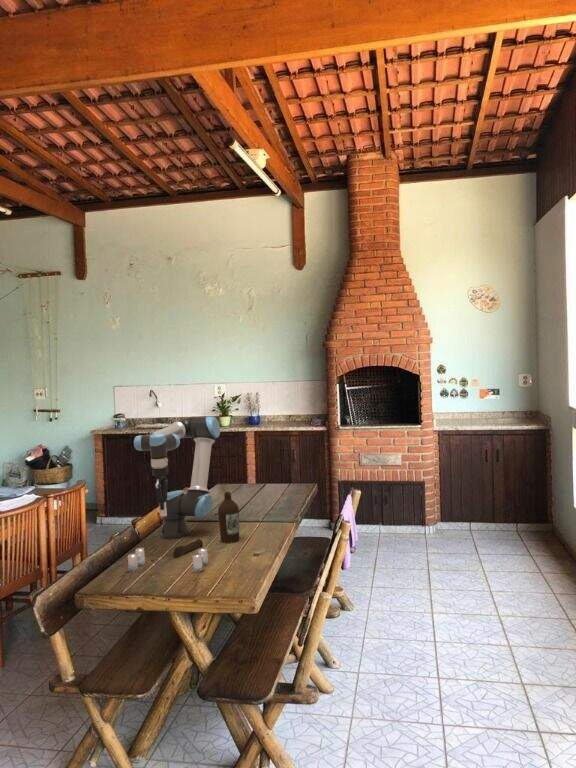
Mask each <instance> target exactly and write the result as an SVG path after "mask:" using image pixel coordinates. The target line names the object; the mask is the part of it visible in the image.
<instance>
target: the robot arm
mask: <svg viewBox="0 0 576 768" xmlns="http://www.w3.org/2000/svg"><path fill="white" fill-rule="evenodd" d="M220 435H221V426H220V423H219V421H218V418H216V417H215V416H209V415H208V416H189V417H185V418H183V419H179V420H177V421H175V422H172V423H171V424H170V425H169V426H166V427H164V428H163V427H162V429H159V430H156V431H154V432H151V433H147V434H145V435H143V434H142V435H137V436H135V437H134V440H133V447H134V448H135V450H136V451H140V452H141V451H142V452H144V451H146V452H147V451H150V466H151V474H152V476H153V477H155V483H154V484H153V487H154V491H155V497H156V503H157V504H158V505H159V513H160V514H159V515H160V516H159V517H163V520H162V521H163V522H162V524H161V530H160V537H161V538H162V539H167V540H168V539H169V540H171V539H180V538H185V537H187V536H189V535H190V527H189V525H188V522H187V519H186V517H197V518H200V517H207V515H209V514H210V511H211V510H212V507H213V496H212V495H211V494H210V490H208V481H209V470H210V462H211V455H212V454H211V452H212V447H213V446H212V445H213V444H214V443H216V439H217V438H219V437H220ZM188 438H190V439H192V438H193V441H194V442H195V447H194V449H195V450H194V454H193V455H194V456H193V463H192V472H191V473H192V474H191V478H190V479H191V481H190V487H189V488H187V489H186V493H185V491H184V490H183V489H182V490H181V489H177V490H172V491H170V492H169V491H168V481H169V478H167V477H166V476H167V475H168V474H169V467H168V462H169V459H168V452H169V451H173V450H175V449H177V448H179V446H180V444H181V439H188Z"/></svg>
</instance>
